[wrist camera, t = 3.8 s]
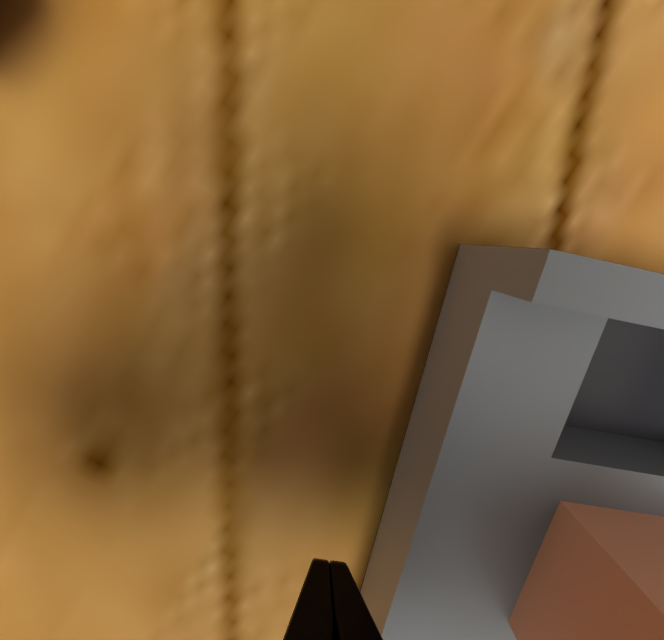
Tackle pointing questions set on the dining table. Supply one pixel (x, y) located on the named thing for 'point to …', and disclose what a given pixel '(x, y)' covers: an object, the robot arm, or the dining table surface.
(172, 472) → the dining table surface
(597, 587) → the block
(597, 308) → the box
